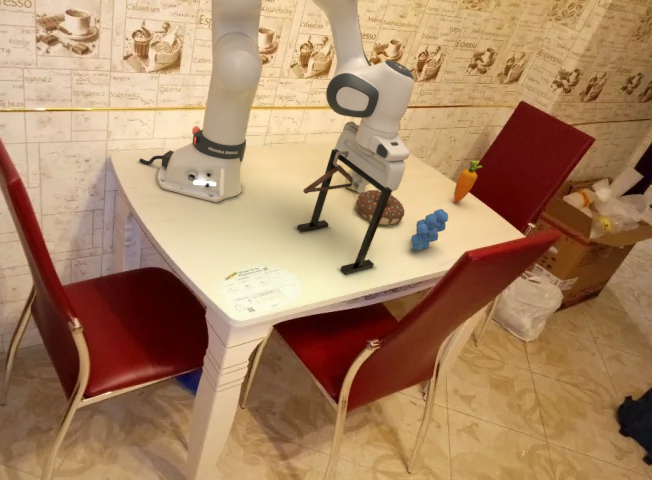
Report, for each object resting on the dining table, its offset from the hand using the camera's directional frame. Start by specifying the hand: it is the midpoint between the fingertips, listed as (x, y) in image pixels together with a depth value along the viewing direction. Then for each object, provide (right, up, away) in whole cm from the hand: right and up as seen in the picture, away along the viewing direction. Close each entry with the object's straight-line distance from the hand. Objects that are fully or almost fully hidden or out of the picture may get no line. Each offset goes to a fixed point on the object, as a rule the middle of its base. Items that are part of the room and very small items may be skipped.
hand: (357, 189), depth 128 cm
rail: (-6, -14, +2) cm, 15 cm away
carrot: (+37, +2, +39) cm, 54 cm away
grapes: (+18, -14, +11) cm, 25 cm away
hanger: (-7, 0, -2) cm, 7 cm away
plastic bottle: (+4, +6, +31) cm, 32 cm away
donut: (+8, -4, +21) cm, 23 cm away
